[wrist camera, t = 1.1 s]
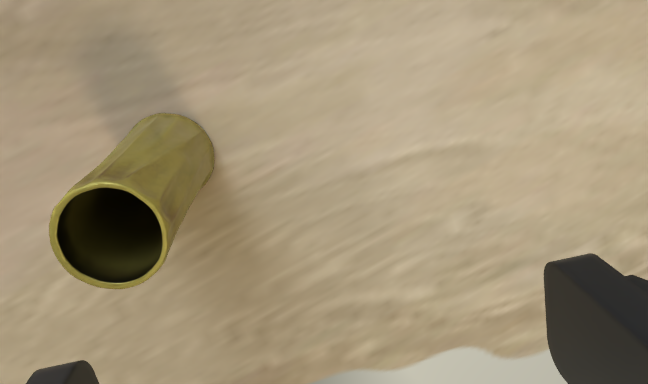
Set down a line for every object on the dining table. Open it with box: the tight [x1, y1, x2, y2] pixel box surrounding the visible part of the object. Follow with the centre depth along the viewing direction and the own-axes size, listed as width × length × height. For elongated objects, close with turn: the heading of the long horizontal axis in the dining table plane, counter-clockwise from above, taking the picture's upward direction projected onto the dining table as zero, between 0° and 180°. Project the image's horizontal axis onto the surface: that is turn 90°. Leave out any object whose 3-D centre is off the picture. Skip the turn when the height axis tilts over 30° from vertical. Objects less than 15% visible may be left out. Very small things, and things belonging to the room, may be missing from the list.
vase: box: [49, 113, 214, 289], centre depth 30 cm, size 6×6×14 cm
